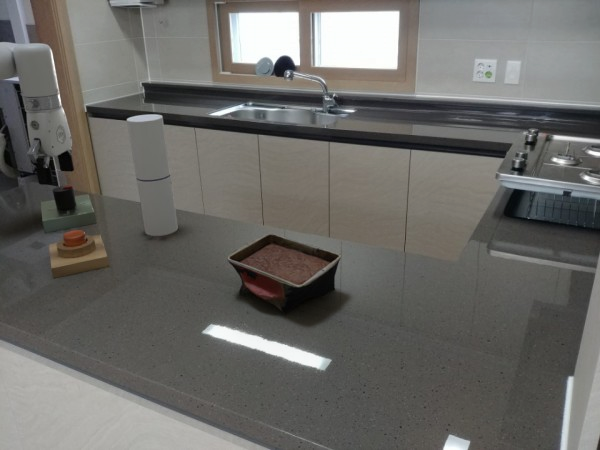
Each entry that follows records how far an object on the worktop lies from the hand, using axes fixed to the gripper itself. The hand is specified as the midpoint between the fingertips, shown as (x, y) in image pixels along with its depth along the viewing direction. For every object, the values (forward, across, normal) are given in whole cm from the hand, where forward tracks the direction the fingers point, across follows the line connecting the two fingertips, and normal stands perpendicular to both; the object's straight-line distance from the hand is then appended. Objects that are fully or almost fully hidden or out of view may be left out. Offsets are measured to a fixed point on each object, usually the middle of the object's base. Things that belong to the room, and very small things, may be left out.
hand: (57, 177), depth 124 cm
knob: (+7, 0, -1) cm, 7 cm away
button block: (+10, -22, -14) cm, 28 cm away
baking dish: (+9, -34, -57) cm, 67 cm away
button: (+6, -22, -14) cm, 27 cm away
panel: (+10, 0, -1) cm, 10 cm away
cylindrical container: (+10, -7, -26) cm, 29 cm away
